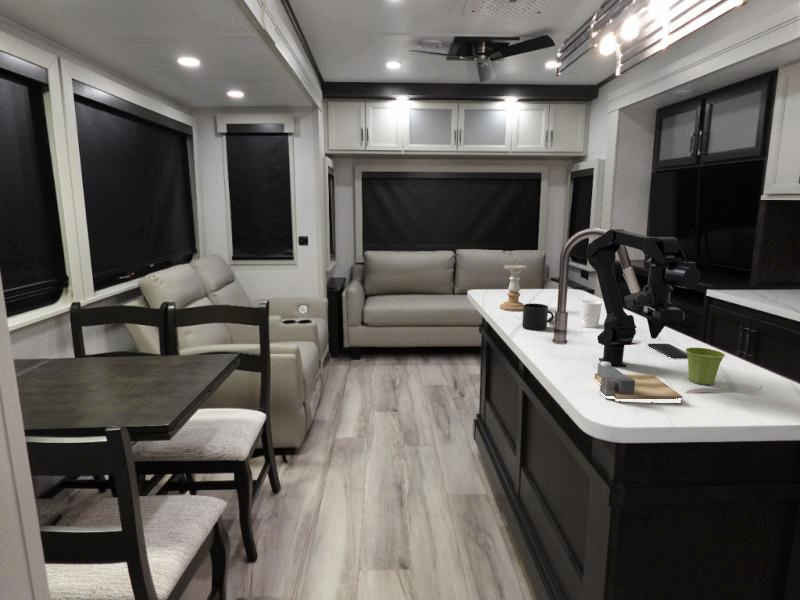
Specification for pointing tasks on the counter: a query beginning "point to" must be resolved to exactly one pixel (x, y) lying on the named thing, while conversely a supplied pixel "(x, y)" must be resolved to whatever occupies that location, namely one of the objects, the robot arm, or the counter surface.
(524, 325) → the mug
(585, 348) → the counter surface
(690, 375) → the plant pot
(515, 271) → the candle holder
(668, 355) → the phone
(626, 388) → the folding leg
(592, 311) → the white cup
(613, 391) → the tan wooden slab
